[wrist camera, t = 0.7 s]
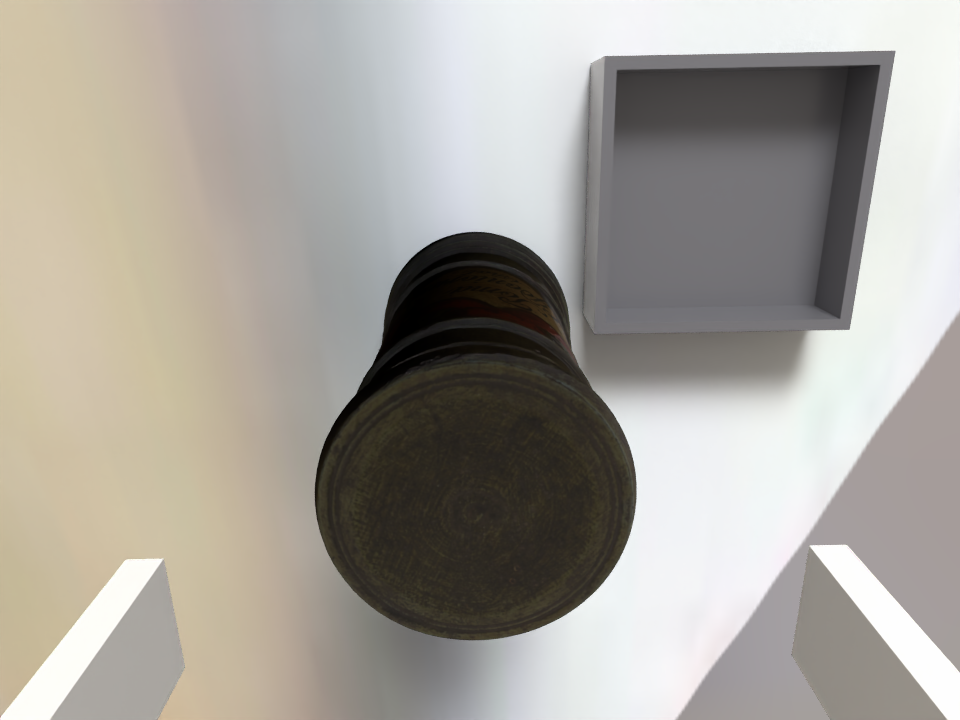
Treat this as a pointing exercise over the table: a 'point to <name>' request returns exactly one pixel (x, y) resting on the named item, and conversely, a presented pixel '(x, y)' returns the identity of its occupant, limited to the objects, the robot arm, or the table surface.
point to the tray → (730, 189)
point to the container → (475, 453)
